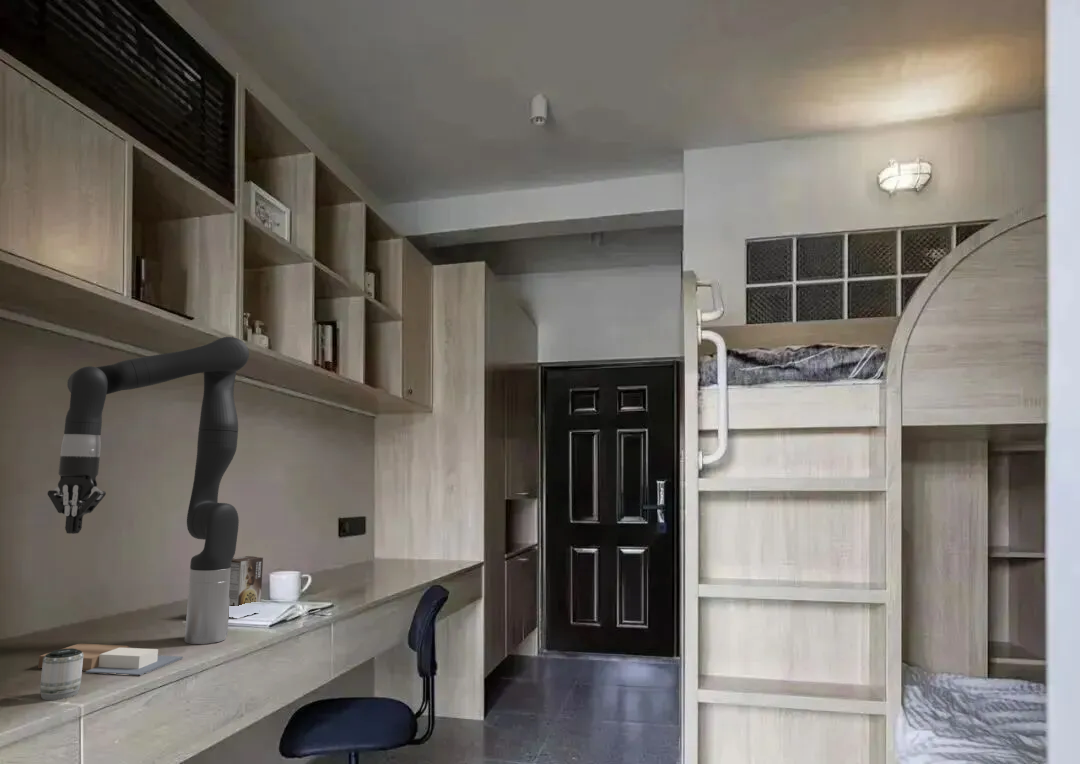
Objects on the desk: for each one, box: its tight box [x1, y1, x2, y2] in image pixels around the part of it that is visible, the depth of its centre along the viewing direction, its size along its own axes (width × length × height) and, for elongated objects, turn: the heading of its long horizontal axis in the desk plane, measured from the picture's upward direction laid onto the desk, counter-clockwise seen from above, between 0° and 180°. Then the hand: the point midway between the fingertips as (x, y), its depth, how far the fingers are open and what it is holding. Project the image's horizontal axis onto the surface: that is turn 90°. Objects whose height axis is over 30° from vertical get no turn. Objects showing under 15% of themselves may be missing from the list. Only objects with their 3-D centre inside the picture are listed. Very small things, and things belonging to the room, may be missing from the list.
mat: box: [84, 654, 184, 676], centre depth 150 cm, size 14×12×1 cm
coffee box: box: [229, 555, 264, 606], centre depth 205 cm, size 9×6×16 cm
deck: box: [37, 643, 130, 670], centre depth 152 cm, size 11×12×2 cm
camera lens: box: [39, 648, 84, 701], centre depth 130 cm, size 6×6×8 cm
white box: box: [98, 647, 159, 669], centre depth 150 cm, size 6×9×2 cm, turn 84°
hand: (72, 533), depth 157 cm, fingers closed
